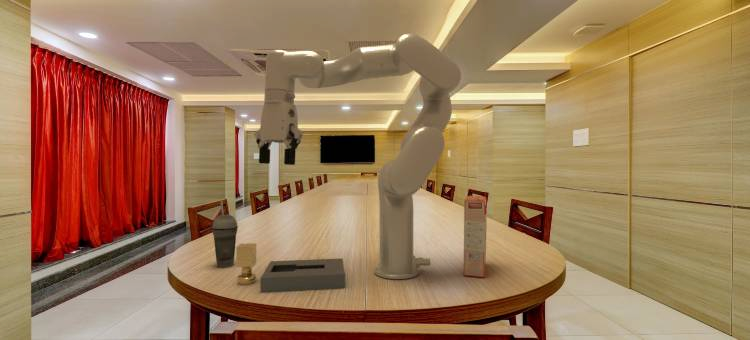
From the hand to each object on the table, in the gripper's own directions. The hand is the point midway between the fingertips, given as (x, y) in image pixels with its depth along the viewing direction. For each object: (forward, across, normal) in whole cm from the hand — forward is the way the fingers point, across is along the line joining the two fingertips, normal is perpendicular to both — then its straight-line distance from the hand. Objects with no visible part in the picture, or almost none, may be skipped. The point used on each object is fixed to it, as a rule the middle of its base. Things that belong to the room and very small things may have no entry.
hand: (276, 164), depth 88 cm
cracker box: (+28, -43, -37) cm, 64 cm away
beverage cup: (+32, +22, -1) cm, 39 cm away
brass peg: (+31, +4, +5) cm, 32 cm away
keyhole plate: (+30, -8, -4) cm, 32 cm away
